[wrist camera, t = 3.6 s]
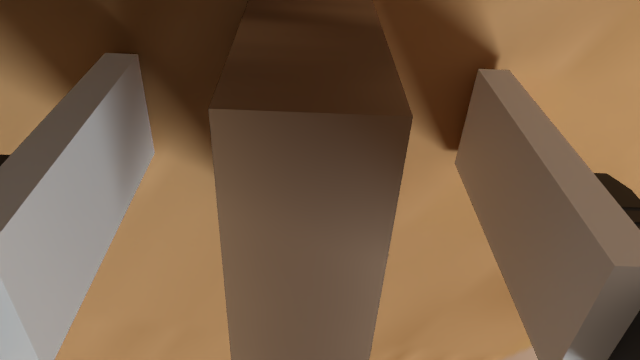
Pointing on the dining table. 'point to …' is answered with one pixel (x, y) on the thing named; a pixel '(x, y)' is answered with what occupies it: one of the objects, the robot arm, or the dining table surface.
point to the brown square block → (307, 177)
